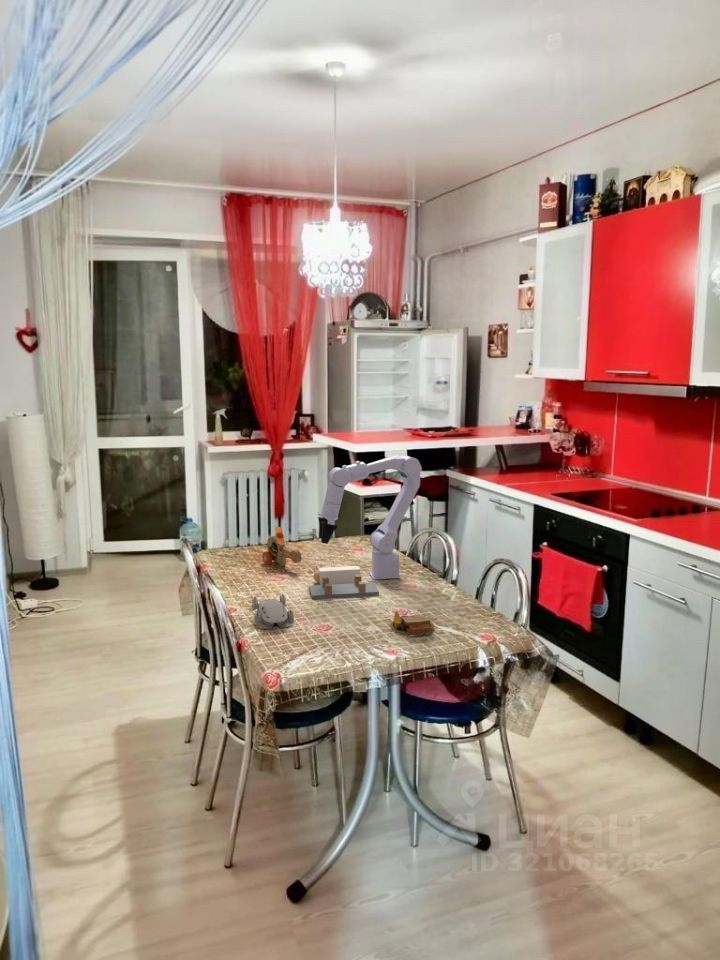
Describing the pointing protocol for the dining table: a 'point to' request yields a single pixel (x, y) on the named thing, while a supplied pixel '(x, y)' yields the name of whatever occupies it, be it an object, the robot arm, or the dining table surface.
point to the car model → (272, 613)
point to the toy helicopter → (279, 550)
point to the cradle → (343, 589)
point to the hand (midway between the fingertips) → (323, 540)
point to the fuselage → (337, 574)
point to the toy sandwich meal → (411, 624)
